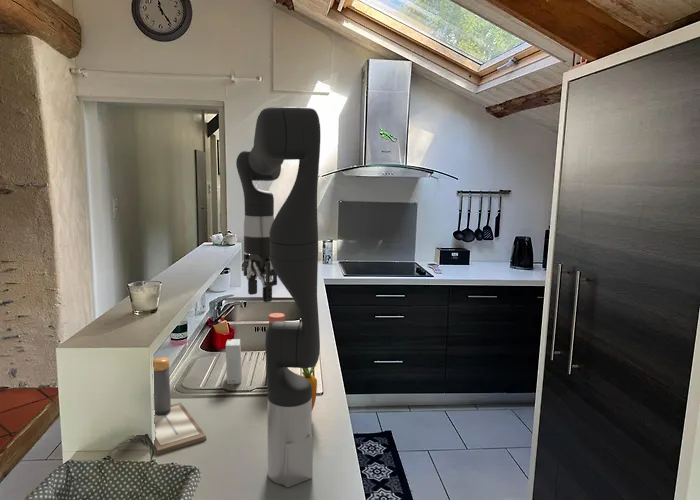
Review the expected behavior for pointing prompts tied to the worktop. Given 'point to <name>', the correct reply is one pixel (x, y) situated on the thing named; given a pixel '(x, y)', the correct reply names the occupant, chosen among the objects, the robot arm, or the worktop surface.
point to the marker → (161, 386)
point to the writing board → (176, 430)
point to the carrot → (312, 381)
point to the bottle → (273, 318)
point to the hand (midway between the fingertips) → (259, 297)
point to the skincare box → (233, 361)
